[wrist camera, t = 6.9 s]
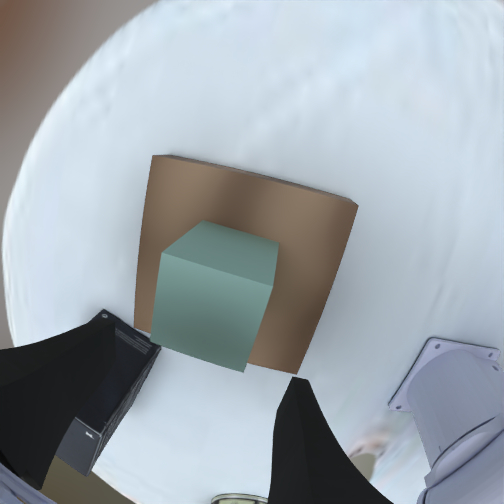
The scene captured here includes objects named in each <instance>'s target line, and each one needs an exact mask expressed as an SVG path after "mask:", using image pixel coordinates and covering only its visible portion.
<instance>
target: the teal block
mask: <svg viewBox="0 0 504 504" xmlns="http://www.w3.org/2000/svg"><path fill="white" fill-rule="evenodd" d="M278 248H279V242H276V241H273V240H269V239H266V238H262V237H259V236H256V235H252V234H249V233H246V232H242V231H239V230H235V229H232V228H228V227H225V226H222V225H218V224H215V223H211V222H208V221H204V220H203V221H201V222H200V223H199V224H197V225H196V226H195V227H193V228H192V229H191V230H190V231H188V232H187V233H186V234H184V235H183V236H182V237H181V238H179V239H178V240H177V241H175V242H174V243H173V244H172V245H170V246H169V247H168V248H167V249H165V250H164V251H163V252H162V254H161V260H160V266H159V273H158V280H157V287H156V294H155V301H154V309H153V317H152V326H151V335H150V342H153V343H155V344H158V345H161V346H163V347H166V348H169V349H172V350H174V351H177V352H180V353H183V354H186V355H189V356H192V357H195V358H198V359H201V360H204V361H207V362H210V363H213V364H216V365H219V366H223V367H226V368H229V369H233V370H236V371H240V372H243V373H244V370H245V367H246V364H247V361H248V359H249V356H250V353H251V350H252V347H253V344H254V341H255V339H256V336H257V333H258V330H259V327H260V324H261V321H262V318H263V315H264V312H265V309H266V306H267V303H268V300H269V297H270V294H271V291H272V288H273V284H274V277H275V270H276V263H277V255H278Z"/></svg>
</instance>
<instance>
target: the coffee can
mask: <svg viewBox="0 0 504 504" xmlns="http://www.w3.org/2000/svg"><path fill="white" fill-rule="evenodd" d="M267 502H268V499H266V498H262V497H258V496H253V495H244V494H225V495H220V496H216V497H214V498H213V499H212V501H211V504H267Z"/></svg>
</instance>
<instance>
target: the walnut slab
mask: <svg viewBox="0 0 504 504" xmlns="http://www.w3.org/2000/svg"><path fill="white" fill-rule="evenodd" d="M357 209H358V205H357V204H356V203H354V202H353V201H352V200H350V199H347V198H344V197H341V196H338V195H334V194H331V193H327V192H324V191H320V190H317V189H313V188H310V187H306V186H303V185H299V184H295V183H292V182H288V181H284V180H280V179H276V178H272V177H268V176H264V175H260V174H256V173H252V172H248V171H244V170H239V169H235V168H231V167H226V166H222V165H217V164H213V163H208V162H203V161H198V160H193V159H188V158H183V157H178V156H173V155H153V156H152V161H151V167H150V173H149V179H148V185H147V191H146V198H145V205H144V212H143V219H142V227H141V236H140V245H139V254H138V265H137V277H136V291H135V308H134V328H137V329H140V330H142V331H145V332H148V333H151V326H152V317H153V309H154V301H155V294H156V287H157V280H158V273H159V266H160V260H161V254H162V252H163V251H164V250H165V249H167V248H168V247H169V246H170V245H172V244H173V243H174V242H175V241H177V240H178V239H179V238H181V237H182V236H183V235H184V234H186V233H187V232H188V231H190V230H191V229H192V228H193V227H195V226H196V225H197V224H199V223H200V222H201V221H203V220H204V221H208V222H211V223H215V224H218V225H222V226H225V227H228V228H232V229H235V230H239V231H242V232H246V233H249V234H252V235H256V236H259V237H262V238H266V239H269V240H273V241H276V242H279V248H278V255H277V263H276V270H275V277H274V284H273V288H272V291H271V294H270V297H269V300H268V303H267V306H266V309H265V312H264V315H263V318H262V321H261V324H260V327H259V330H258V333H257V336H256V339H255V341H254V344H253V347H252V350H251V353H250V356H249V359H248V361H247V363H250V364H254V365H258V366H262V367H266V368H270V369H274V370H279V371H283V372H287V373H292V374H297V373H298V370H299V368H300V366H301V363H302V361H303V359H304V356H305V354H306V352H307V349H308V347H309V344H310V342H311V340H312V337H313V335H314V332H315V330H316V327H317V325H318V322H319V320H320V317H321V314H322V312H323V309H324V307H325V304H326V301H327V299H328V296H329V293H330V290H331V288H332V285H333V282H334V279H335V277H336V274H337V271H338V268H339V265H340V262H341V259H342V256H343V253H344V250H345V247H346V244H347V241H348V238H349V235H350V232H351V229H352V226H353V223H354V219H355V216H356V213H357Z"/></svg>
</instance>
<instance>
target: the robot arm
mask: <svg viewBox="0 0 504 504" xmlns="http://www.w3.org/2000/svg"><path fill="white" fill-rule="evenodd" d="M437 344H438V345H437ZM436 345H437V346H436ZM499 356H500V351H499V350H498V349H492V348H486V347H480V346H474V345H469V344H463V343H458V342H452V341H447V340H442V339H436V338H432V339H430V340H429V341H428V342H427V344H426V345H425V347H424V349H423V351H422V353H421V354H420V356H419V358H418V359H417V361H416V363H415V365H414V366H413V368H412V370H411V371H410V373H409V374H408V376H407V378H406V379H405V381H404V382H403V384H402V386H401V387H400V389H399V390H398V392H397V393H396V395H395V396H394V398H393V399H392V401H391V402H390V403H389V405H388V406H389V409H390V410H393V411H406V412H412V413H413V416H414V419H415V422H416V425H417V427H418V430H419V433H420V436H421V439H422V442H423V445H424V449H425V452H426V455H427V458H428V461H429V465H430V468H431V472H430V473H429V474H427V475H426V476H425V477H424V479H425V483H426V487H427V488H425V489H424V490H423V491H422V492H421V494H420V495H419V497H418V500H417V504H504V371H503V370H502V368H501V367H500V366H499V364H498V363H497V362H496V361H497V359H498V357H499ZM115 360H116V343H115V322H114V321H112V320H109V319H107V318H104V317H101V318H99V319H96V320H94V321H91V322H89V323H86V324H84V325H82V326H79V327H77V328H74V329H72V330H70V331H67V332H65V333H62V334H60V335H57V336H54V337H51V338H48V339H45V340H42V341H39V342H36V343H32V344H29V345H24V346H20V347H15V348H9V349H2V350H0V504H23V503H22V502H21V501H19V500H18V499H17V497H16V496H18V497H19V498H20V499H22V500H23V501H25V502H26V503H27V504H57V503H55V502H54V501H52V500H50V499H49V498H47V497H46V496H44V495H43V494H41V493H40V492H38V491H37V490H40V489H42V486H43V483H44V480H45V477H46V474H47V472H48V469H49V466H50V464H51V462H52V460H53V458H54V455H55V453H56V451H57V449H58V447H59V445H60V443H61V441H62V439H63V437H64V435H65V433H66V432H67V430H68V428H69V426H70V425H71V423H72V421H73V420H74V418H75V417H76V415H77V414H78V412H79V411H80V410H81V408H82V407H83V406H84V405H85V403H86V402H87V401H88V399H89V398H90V397H91V396H92V394H93V393H94V392H95V391H96V389H97V388H98V387H99V385H100V384H101V383H102V382H103V380H104V379H105V378H106V376H107V374H108V372H109V371H110V369H111V367H112V366H113V364H114V362H115ZM267 504H393V503H392V502H391V501H390V500H388V499H387V498H386V497H384V496H383V495H382V494H381V493H380V492H379V491H378V490H377V489H376V488H375V487H373V486H372V485H371V484H370V483H369V482H368V481H367V479H366V478H365V477H364V476H363V475H362V474H361V473H360V472H359V470H358V469H357V468H356V467H355V466H354V465H353V463H352V462H351V461H350V459H349V458H348V457H347V455H346V454H345V452H344V451H343V449H342V448H341V446H340V445H339V443H338V441H337V440H336V438H335V436H334V435H333V433H332V431H331V429H330V427H329V425H328V423H327V421H326V419H325V417H324V415H323V413H322V411H321V409H320V407H319V404H318V402H317V400H316V398H315V395H314V393H313V390H312V388H311V385H310V383H309V381H308V380H307V379H302V378H297V377H292V379H291V381H290V383H289V386H288V388H287V390H286V392H285V394H284V396H283V399H282V401H281V403H280V405H279V407H278V409H277V413H276V419H275V425H274V431H273V449H272V471H271V484H270V491H269V497H268V502H267Z"/></svg>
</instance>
